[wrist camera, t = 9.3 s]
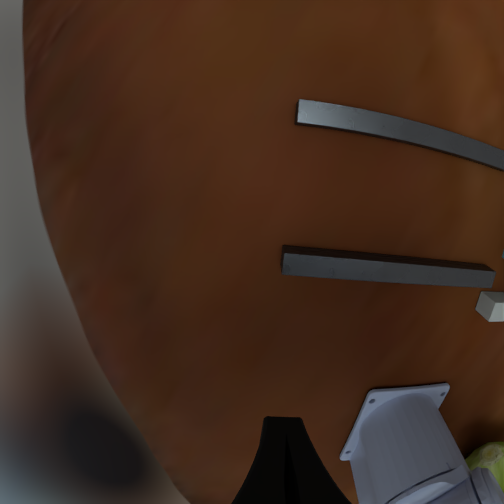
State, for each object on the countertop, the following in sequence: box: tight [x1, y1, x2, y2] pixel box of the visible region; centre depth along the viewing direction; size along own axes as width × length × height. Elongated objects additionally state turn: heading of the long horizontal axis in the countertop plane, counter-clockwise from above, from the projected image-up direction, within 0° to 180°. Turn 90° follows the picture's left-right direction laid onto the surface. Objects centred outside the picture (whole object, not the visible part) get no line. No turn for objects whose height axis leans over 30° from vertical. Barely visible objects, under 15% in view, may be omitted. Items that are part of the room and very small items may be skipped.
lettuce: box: [465, 442, 504, 493], centre depth 20 cm, size 14×20×12 cm
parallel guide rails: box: [280, 99, 504, 288], centre depth 16 cm, size 9×15×2 cm, turn 85°
